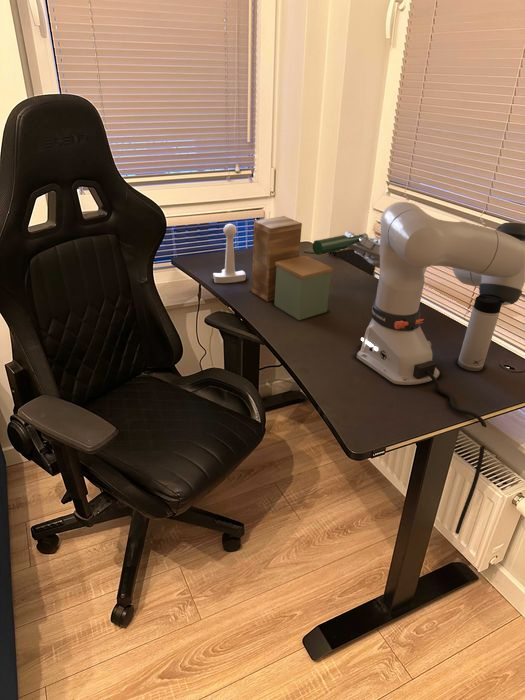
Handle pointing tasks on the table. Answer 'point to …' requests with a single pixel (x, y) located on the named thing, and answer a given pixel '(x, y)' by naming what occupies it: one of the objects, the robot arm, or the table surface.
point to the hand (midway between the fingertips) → (355, 238)
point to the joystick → (229, 260)
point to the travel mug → (480, 331)
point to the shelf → (272, 251)
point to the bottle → (335, 243)
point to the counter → (302, 286)
